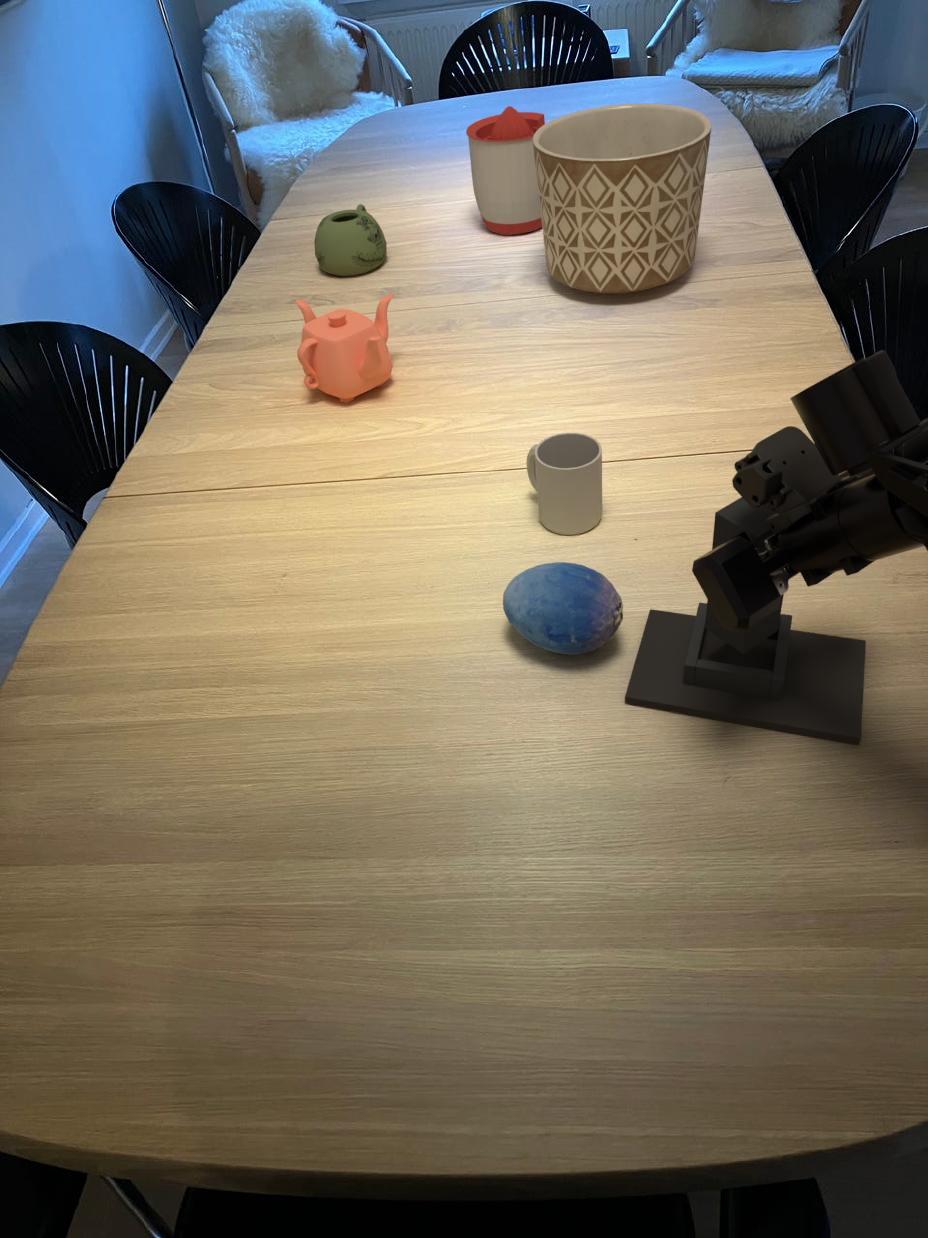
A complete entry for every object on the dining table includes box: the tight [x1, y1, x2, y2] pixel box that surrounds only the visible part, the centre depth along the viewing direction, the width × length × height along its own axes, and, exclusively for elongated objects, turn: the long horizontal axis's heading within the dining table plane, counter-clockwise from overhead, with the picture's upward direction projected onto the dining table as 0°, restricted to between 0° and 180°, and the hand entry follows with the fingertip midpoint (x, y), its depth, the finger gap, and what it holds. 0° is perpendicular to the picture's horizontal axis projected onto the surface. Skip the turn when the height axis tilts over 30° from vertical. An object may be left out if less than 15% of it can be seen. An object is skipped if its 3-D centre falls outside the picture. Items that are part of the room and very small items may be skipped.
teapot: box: [295, 293, 394, 403], centre depth 130 cm, size 14×14×11 cm
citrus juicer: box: [465, 105, 546, 236], centre depth 165 cm, size 16×17×20 cm
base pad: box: [624, 602, 867, 746], centre depth 84 cm, size 20×12×4 cm, turn 71°
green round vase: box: [314, 203, 388, 277], centre depth 164 cm, size 16×13×9 cm
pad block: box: [705, 496, 788, 654], centre depth 78 cm, size 4×4×13 cm
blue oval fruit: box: [502, 561, 624, 655], centre depth 88 cm, size 9×9×15 cm
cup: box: [525, 432, 603, 536], centre depth 103 cm, size 7×10×9 cm
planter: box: [533, 103, 712, 296], centre depth 144 cm, size 26×26×22 cm
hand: (736, 566), depth 79 cm, fingers closed on pad block, 4 cm apart
